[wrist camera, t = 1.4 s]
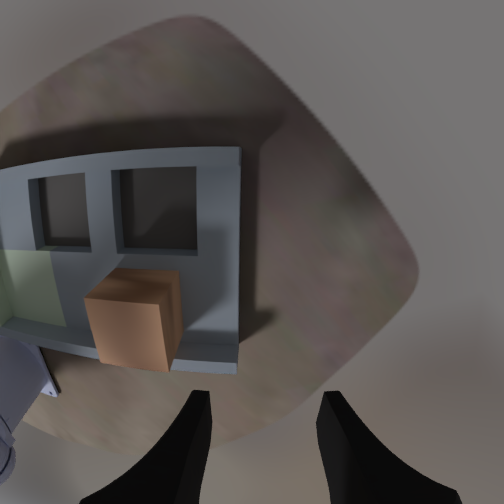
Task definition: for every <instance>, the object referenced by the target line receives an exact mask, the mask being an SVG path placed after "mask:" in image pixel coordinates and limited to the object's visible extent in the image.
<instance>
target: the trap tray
mask: <svg viewBox="0 0 504 504" xmlns="http://www.w3.org/2000/svg"><path fill="white" fill-rule="evenodd" d="M241 159H242V148H240V147H176V148H156V149H140V150H128V151H117V152H106V153H97V154H89V155H81V156H73V157H66V158H60V159H53V160H47V161H41V162H36V163H30V164H25V165H20V166H15V167H10V168H6V169H1V170H0V335H2V336H5V337H8V338H12V339H15V340H18V341H22V342H25V343H29V344H33V345H36V346H40V347H44V348H48V349H52V350H57V351H61V352H65V353H70V354H74V355H79V356H84V357H89V358H94V359H100V358H99V355H98V352H97V348H96V345H95V341H94V338H93V334H92V330H91V327H90V323H89V319H88V315H87V310H86V306H85V302H84V297H85V296H86V295H87V294H88V293H89V292H90V291H91V290H92V289H93V288H94V287H95V286H97V285H98V284H99V283H100V282H101V281H102V280H103V279H104V278H105V277H106V276H107V275H108V274H109V273H110V272H111V271H113V270H114V269H115V268H129V269H151V270H174V271H179V278H180V291H181V304H182V315H183V325H184V332H183V335H182V338H181V340H180V343H179V346H178V349H177V352H176V354H175V357H174V360H173V363H172V366H171V369H170V370H180V371H192V372H205V373H221V374H237V363H238V350H239V273H240V207H241Z"/></svg>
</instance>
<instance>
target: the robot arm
mask: <svg viewBox="0 0 504 504" xmlns="http://www.w3.org/2000/svg"><path fill="white" fill-rule="evenodd" d="M40 392H42V393H45V394H48V395H51V396H54V397H58V395H59V393H58V391H57V389H56V387H55V385H54V382H53V380H52V378H51V376H50V373H49V371H48V369H47V366H46V364H45V361H44V359H43V356H42V354H41V351H40V349H39V346H36V345H33V344H29V343H25V342H22V341H18V340H15V339H12V338H8V337H5V336H2V335H0V485H1V484H3V483H4V482H5V481H6V480H7V479H8V478H9V476H10V475H11V474H12V472H13V469H14V467H15V462H16V459H15V457H16V455H15V450H14V448H13V446H12V445H13V443H14V442H15V439H14V437H13V436H12V435H11V434H12V433H13V431H14V430H15V428H16V427H17V425H18V424H19V422H20V421H21V419H22V418H23V416H24V415H25V413H26V412H27V411H28V409H29V408H30V406H31V405H32V403H33V402H34V401H35V399H36V398H37V396H38V395H39V393H40ZM316 426H317V427H316V428H317V437H318V445H319V449H320V453H321V457H322V461H323V466H324V469H325V474H326V478H327V482H328V486H329V492H330V501H331V504H462V502H461V500H460V497H459V495H458V493H457V491H456V490H454V489H451V488H449V487H447V486H444V485H442V484H440V483H437V482H435V481H433V480H431V479H429V478H428V477H426V476H424V475H422V474H421V473H419V472H418V471H416V470H415V469H413V468H412V467H410V466H409V465H407V464H406V463H404V462H403V461H402V460H401V459H399V458H398V457H397V456H396V455H395V454H393V453H392V452H391V451H390V450H389V449H388V448H386V446H384V445H383V444H382V443H381V442H380V441H379V440H378V439H377V438H376V436H375V435H374V434H373V433H372V432H371V431H370V430H369V429H368V427H367V426H366V425H365V424H364V423H363V422H362V420H361V419H360V418H359V417H358V415H357V414H356V413H355V411H354V410H353V409H352V408H351V406H350V405H349V404H348V402H347V401H346V399H345V398H344V397H343V395H342V394H341V392H340V391H327V392H324V395H323V398H322V402H321V406H320V410H319V413H318V417H317V421H316ZM211 431H212V414H211V404H210V394H209V391H202V390H193V391H192V392H191V394H190V396H189V398H188V399H187V401H186V403H185V405H184V406H183V408H182V409H181V411H180V413H179V414H178V416H177V417H176V418H175V420H174V421H173V423H172V424H171V426H170V427H169V428H168V430H167V431H166V432H165V433H164V435H163V436H162V437H161V438H160V439H159V441H158V442H157V443H156V444H155V445H154V446H153V448H152V449H151V450H150V451H149V452H148V453H147V454H146V455H145V456H144V457H143V458H142V459H141V460H140V461H138V462H137V463H136V464H135V465H134V466H133V467H132V468H131V469H130V470H128V471H127V472H126V473H124V474H123V475H122V476H120V477H119V478H117V479H116V480H114V481H113V482H112V483H110V484H109V485H107V486H106V487H104V488H102V489H101V490H99V491H97V492H95V493H93V494H91V495H89V496H87V497H85V498H83V499H82V500H81V501H80V503H79V504H199V497H200V490H201V484H202V480H203V475H204V470H205V466H206V461H207V457H208V452H209V447H210V442H211Z"/></svg>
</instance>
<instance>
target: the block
mask: <svg viewBox="0 0 504 504" xmlns="http://www.w3.org/2000/svg"><path fill="white" fill-rule="evenodd" d="M84 302H85V306H86V310H87V315H88V319H89V323H90V327H91V330H92V334H93V338H94V341H95V345H96V348H97V352H98V355H99V358H100V362H101V363H106V364H111V365H117V366H124V367H130V368H137V369H144V370H152V371H160V372H169V371H170V369H171V366H172V363H173V360H174V357H175V354H176V352H177V349H178V346H179V343H180V340H181V338H182V335H183V332H184V325H183V315H182V304H181V291H180V278H179V271H174V270H151V269H129V268H115V269H114V270H113V271H111V272H110V273H109V274H108V275H107V276H106V277H105V278H104V279H103V280H102V281H101V282H100V283H99V284H98V285H97V286H95V287H94V288H93V289H92V290H91V291H90V292H89V293H88V294H87V295H86V296H85V297H84Z"/></svg>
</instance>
